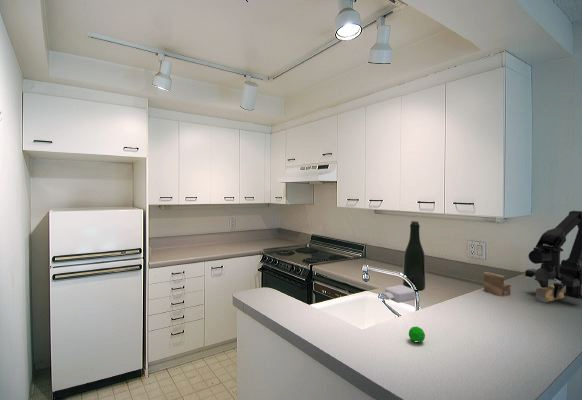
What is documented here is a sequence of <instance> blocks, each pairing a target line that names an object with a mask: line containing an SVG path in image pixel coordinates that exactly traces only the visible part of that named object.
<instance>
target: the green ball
mask: <svg viewBox="0 0 582 400" xmlns="http://www.w3.org/2000/svg"><path fill="white" fill-rule="evenodd" d="M408 337H409V339H410V340H411V339H412V340H414V341H422V342H424V340H425V338H426V333H425V332H424V329H422V328H421V327H420V326H413V327H411V328H410V329H409V331H408ZM412 340H411V341H412ZM414 341H413V342H414Z"/></svg>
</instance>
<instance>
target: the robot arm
mask: <svg viewBox="0 0 582 400" xmlns="http://www.w3.org/2000/svg"><path fill="white" fill-rule="evenodd" d="M576 227H577V228H578V229H577V233H576V235H575V239H574V241H573V244H572V247H571V251H570V252H569V255H568V258H567V259H562V260H561V252H564V249H563V248H562V247H563V245H564V244H565V243H566V241H567V236H568V235H569V234H570V232H571V231H573V230H574V229H575V228H576ZM528 259H529V261H530V262H531V263H533V264H535V265H537V264H539V265H540V268H537V269H535V268H528V269H526V270H525V271H524V276H525V277H529V278H533V277H534V278H533V280H535V282H537V283H539V285H540V286H539V287H540V288H542V287H546V286H549V281H550V280H551V281H556V282H555V283H553V285H554V287H555V288H554V298H557V296H558V295H559V293H560V291H561V290H562V289H563V287H564V288H565V289H564V295H567V296H569V297H570V296H571V297H573V298H582V210H570V211H569V212H568V215H567V216H566V217H565V218H564V219H563V220H561V222H559V223H558V225H556V226H555V227H554V228H551V229H548V230H546V231H545V232H543V233H542V234H541V236H540V238H539V240H538V241H537V243H536V244H535V247H533V249H532V250H531V251H530V252H529V253H528Z"/></svg>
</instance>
